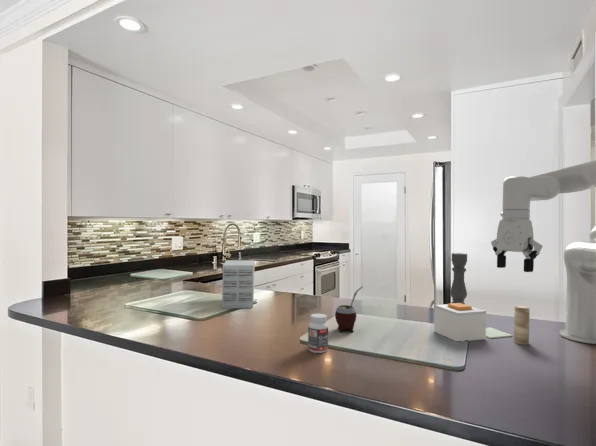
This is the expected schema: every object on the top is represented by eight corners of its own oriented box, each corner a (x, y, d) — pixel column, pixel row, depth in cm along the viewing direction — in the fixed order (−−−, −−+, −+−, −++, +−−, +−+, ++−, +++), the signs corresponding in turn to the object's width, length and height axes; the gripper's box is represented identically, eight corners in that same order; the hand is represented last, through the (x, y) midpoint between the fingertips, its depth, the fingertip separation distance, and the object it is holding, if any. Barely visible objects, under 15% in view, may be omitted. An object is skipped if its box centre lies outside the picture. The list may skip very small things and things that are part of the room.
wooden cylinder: (520, 340, 117) (521, 305, 116) (531, 344, 113) (532, 308, 113) (510, 341, 115) (511, 306, 115) (521, 345, 112) (522, 309, 111)
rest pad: (490, 328, 129) (490, 327, 129) (512, 336, 120) (512, 335, 120) (469, 330, 126) (469, 329, 126) (490, 338, 117) (490, 337, 117)
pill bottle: (321, 355, 101) (322, 319, 101) (304, 350, 104) (304, 316, 104) (331, 349, 106) (331, 314, 106) (314, 345, 109) (314, 311, 109)
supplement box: (224, 299, 168) (225, 260, 167) (254, 299, 169) (254, 260, 169) (221, 308, 150) (221, 264, 150) (253, 308, 152) (254, 265, 152)
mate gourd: (330, 330, 123) (331, 286, 123) (344, 325, 129) (345, 283, 129) (349, 335, 118) (349, 289, 118) (362, 330, 124) (363, 286, 124)
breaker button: (460, 311, 124) (460, 302, 124) (471, 315, 119) (471, 306, 119) (448, 312, 122) (448, 303, 122) (458, 316, 117) (458, 307, 117)
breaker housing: (460, 329, 127) (461, 303, 127) (485, 339, 117) (486, 311, 117) (434, 331, 124) (434, 305, 124) (457, 342, 114) (457, 313, 114)
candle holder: (468, 319, 140) (469, 254, 139) (451, 318, 141) (452, 253, 141) (464, 315, 146) (465, 253, 146) (448, 314, 147) (449, 252, 147)
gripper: (484, 215, 123) (483, 266, 123) (532, 215, 106) (530, 274, 107) (501, 216, 125) (500, 265, 125) (551, 216, 109) (549, 273, 109)
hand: (514, 269), depth 116 cm, fingers open, 9 cm apart
